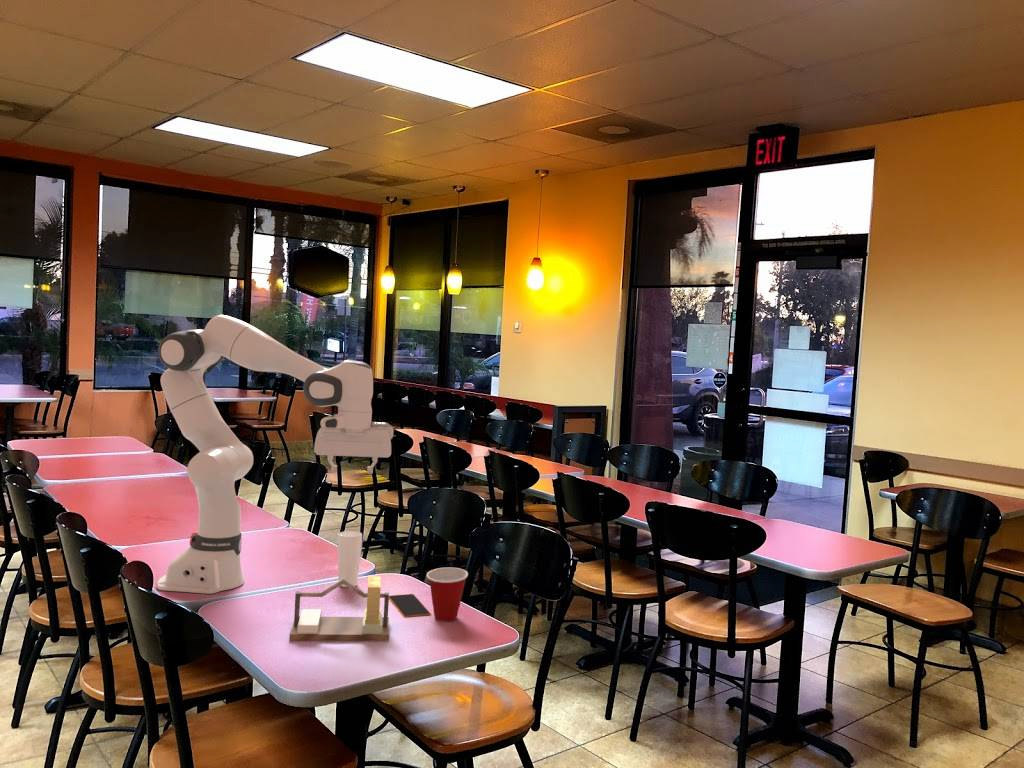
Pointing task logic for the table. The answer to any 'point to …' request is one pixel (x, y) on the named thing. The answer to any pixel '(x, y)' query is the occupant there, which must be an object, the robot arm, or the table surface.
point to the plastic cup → (446, 591)
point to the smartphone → (409, 605)
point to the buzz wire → (339, 621)
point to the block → (309, 621)
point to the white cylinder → (349, 556)
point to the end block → (372, 626)
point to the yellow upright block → (373, 600)
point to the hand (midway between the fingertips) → (352, 472)
